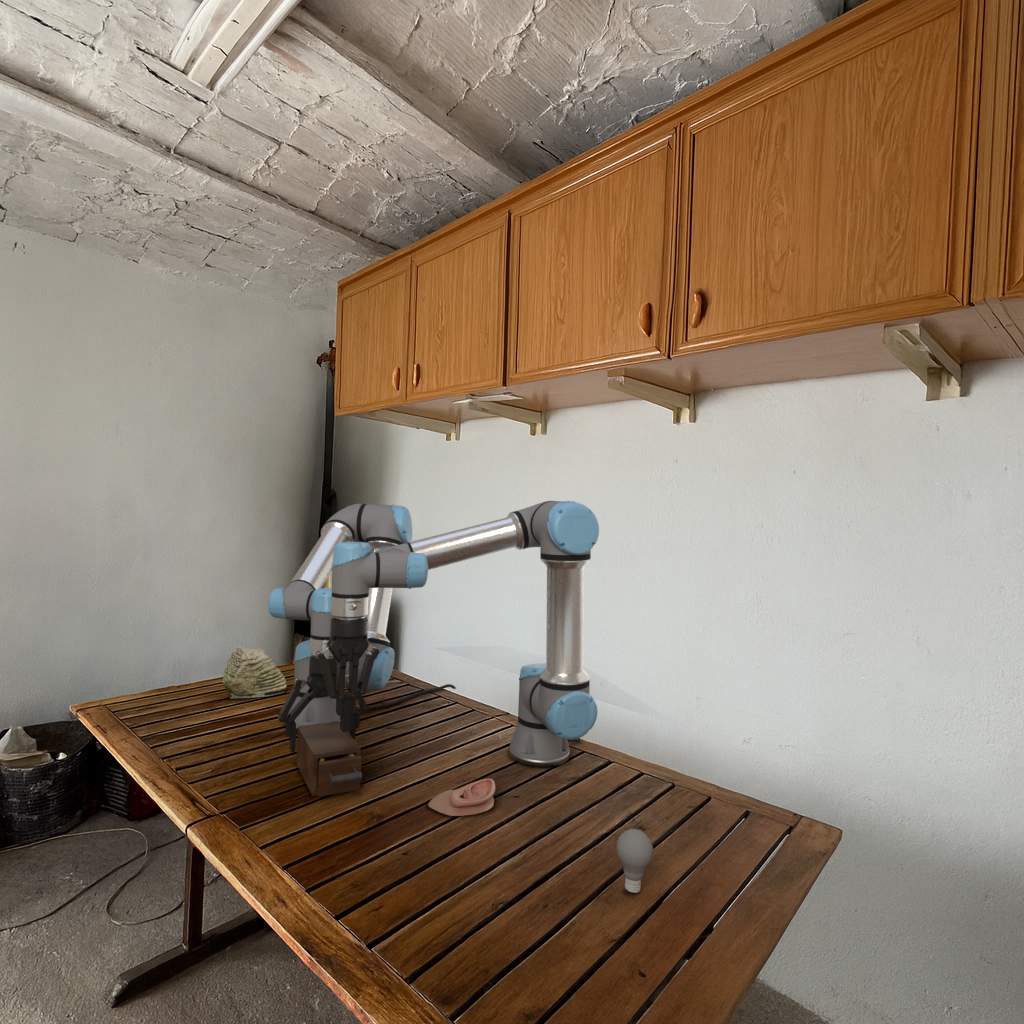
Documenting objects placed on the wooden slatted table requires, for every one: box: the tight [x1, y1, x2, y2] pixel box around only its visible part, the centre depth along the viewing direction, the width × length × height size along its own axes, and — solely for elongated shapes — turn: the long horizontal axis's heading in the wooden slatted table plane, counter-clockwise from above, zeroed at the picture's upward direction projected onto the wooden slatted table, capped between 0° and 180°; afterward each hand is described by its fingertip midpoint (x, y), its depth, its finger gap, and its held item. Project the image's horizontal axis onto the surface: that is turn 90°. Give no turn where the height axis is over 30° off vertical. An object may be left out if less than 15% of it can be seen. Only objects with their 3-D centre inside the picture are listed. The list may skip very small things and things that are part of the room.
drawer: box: [316, 753, 363, 798], centre depth 139 cm, size 22×9×7 cm, turn 29°
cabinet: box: [295, 721, 362, 797], centre depth 144 cm, size 18×10×9 cm, turn 29°
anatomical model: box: [427, 778, 496, 817], centre depth 133 cm, size 13×4×12 cm
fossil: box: [222, 646, 288, 699], centre depth 198 cm, size 9×18×15 cm, turn 132°
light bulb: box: [615, 828, 654, 894], centre depth 106 cm, size 6×6×10 cm
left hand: (322, 746), depth 148 cm, fingers open, 13 cm apart
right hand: (345, 729), depth 131 cm, fingers closed
